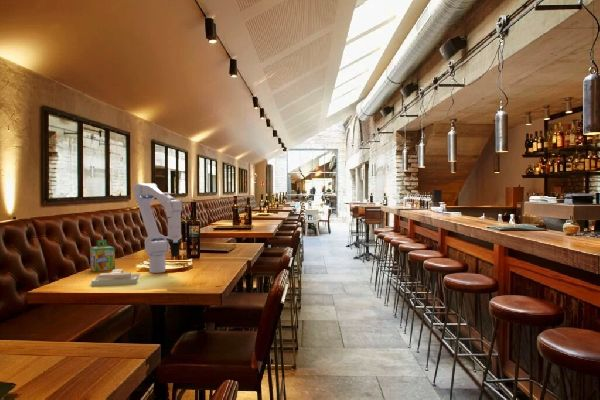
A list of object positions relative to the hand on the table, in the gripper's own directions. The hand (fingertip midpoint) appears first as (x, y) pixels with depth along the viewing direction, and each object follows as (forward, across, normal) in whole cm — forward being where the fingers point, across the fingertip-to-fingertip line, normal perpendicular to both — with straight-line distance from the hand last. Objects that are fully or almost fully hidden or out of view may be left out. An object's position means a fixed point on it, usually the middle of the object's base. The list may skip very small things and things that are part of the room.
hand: (174, 256), depth 212 cm
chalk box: (+10, -28, -32) cm, 44 cm away
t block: (+8, +5, -24) cm, 26 cm away
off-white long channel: (+8, +10, -25) cm, 28 cm away
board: (+9, +1, -25) cm, 26 cm away
